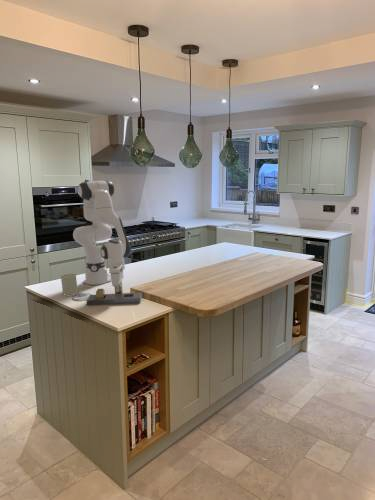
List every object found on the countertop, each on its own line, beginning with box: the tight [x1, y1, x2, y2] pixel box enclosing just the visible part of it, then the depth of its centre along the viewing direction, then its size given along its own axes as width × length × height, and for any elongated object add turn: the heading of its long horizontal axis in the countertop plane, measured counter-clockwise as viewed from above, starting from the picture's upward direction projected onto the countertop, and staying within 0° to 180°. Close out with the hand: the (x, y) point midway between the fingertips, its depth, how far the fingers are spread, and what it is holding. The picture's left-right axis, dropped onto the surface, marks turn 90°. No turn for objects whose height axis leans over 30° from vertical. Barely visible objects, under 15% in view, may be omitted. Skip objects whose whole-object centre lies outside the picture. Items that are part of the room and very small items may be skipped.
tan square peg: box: [95, 288, 106, 299], centre depth 221 cm, size 4×4×8 cm
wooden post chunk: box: [113, 283, 124, 294], centre depth 230 cm, size 4×4×8 cm
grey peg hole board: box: [86, 292, 143, 306], centre depth 222 cm, size 10×30×3 cm, turn 91°
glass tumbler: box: [60, 273, 79, 296], centre depth 239 cm, size 9×9×12 cm
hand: (119, 289), depth 229 cm, fingers open, 8 cm apart
